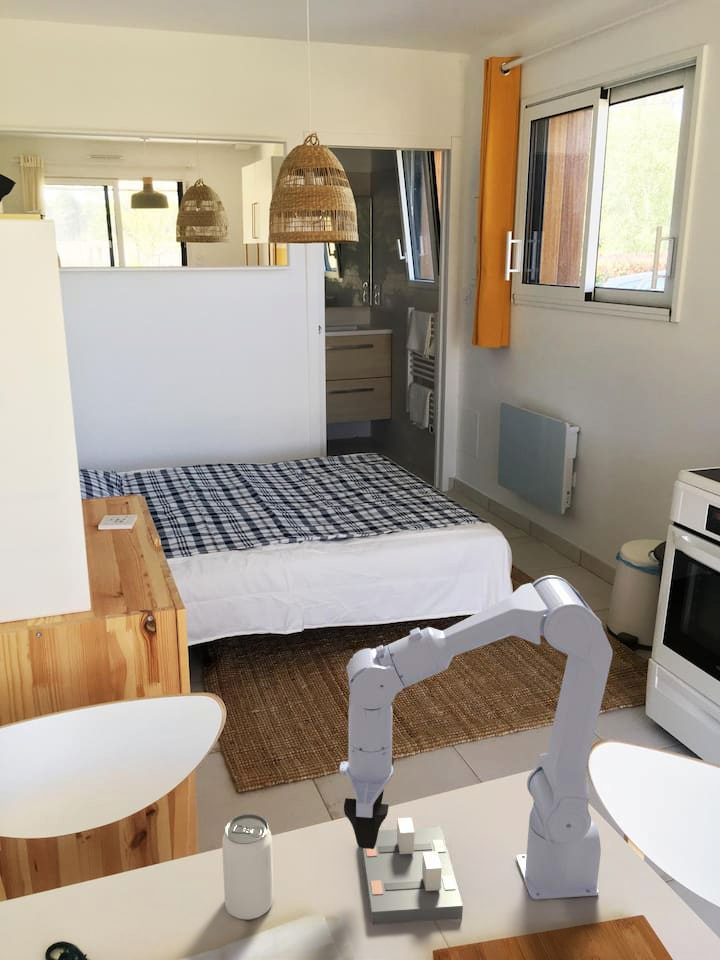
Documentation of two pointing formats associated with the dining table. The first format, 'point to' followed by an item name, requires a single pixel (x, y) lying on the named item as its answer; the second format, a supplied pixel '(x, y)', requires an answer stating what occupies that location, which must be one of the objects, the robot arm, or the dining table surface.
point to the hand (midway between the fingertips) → (369, 826)
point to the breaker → (431, 871)
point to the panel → (409, 880)
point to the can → (247, 866)
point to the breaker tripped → (405, 835)
